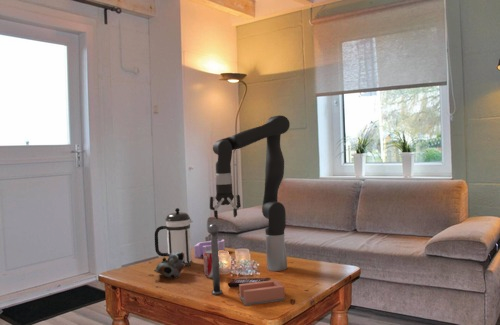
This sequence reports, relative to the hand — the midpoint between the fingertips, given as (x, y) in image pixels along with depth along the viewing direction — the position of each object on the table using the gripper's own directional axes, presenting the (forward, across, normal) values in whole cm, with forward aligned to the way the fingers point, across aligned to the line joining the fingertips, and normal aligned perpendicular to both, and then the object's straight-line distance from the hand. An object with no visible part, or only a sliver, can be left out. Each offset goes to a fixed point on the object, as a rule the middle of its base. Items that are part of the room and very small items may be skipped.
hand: (225, 217), depth 202 cm
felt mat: (+28, -7, +32) cm, 43 cm away
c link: (+28, -7, +32) cm, 43 cm away
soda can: (+28, +7, -5) cm, 30 cm away
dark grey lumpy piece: (+28, +26, -14) cm, 41 cm away
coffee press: (+28, +21, -33) cm, 48 cm away
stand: (+28, +9, +20) cm, 36 cm away
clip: (+28, +1, -48) cm, 55 cm away
